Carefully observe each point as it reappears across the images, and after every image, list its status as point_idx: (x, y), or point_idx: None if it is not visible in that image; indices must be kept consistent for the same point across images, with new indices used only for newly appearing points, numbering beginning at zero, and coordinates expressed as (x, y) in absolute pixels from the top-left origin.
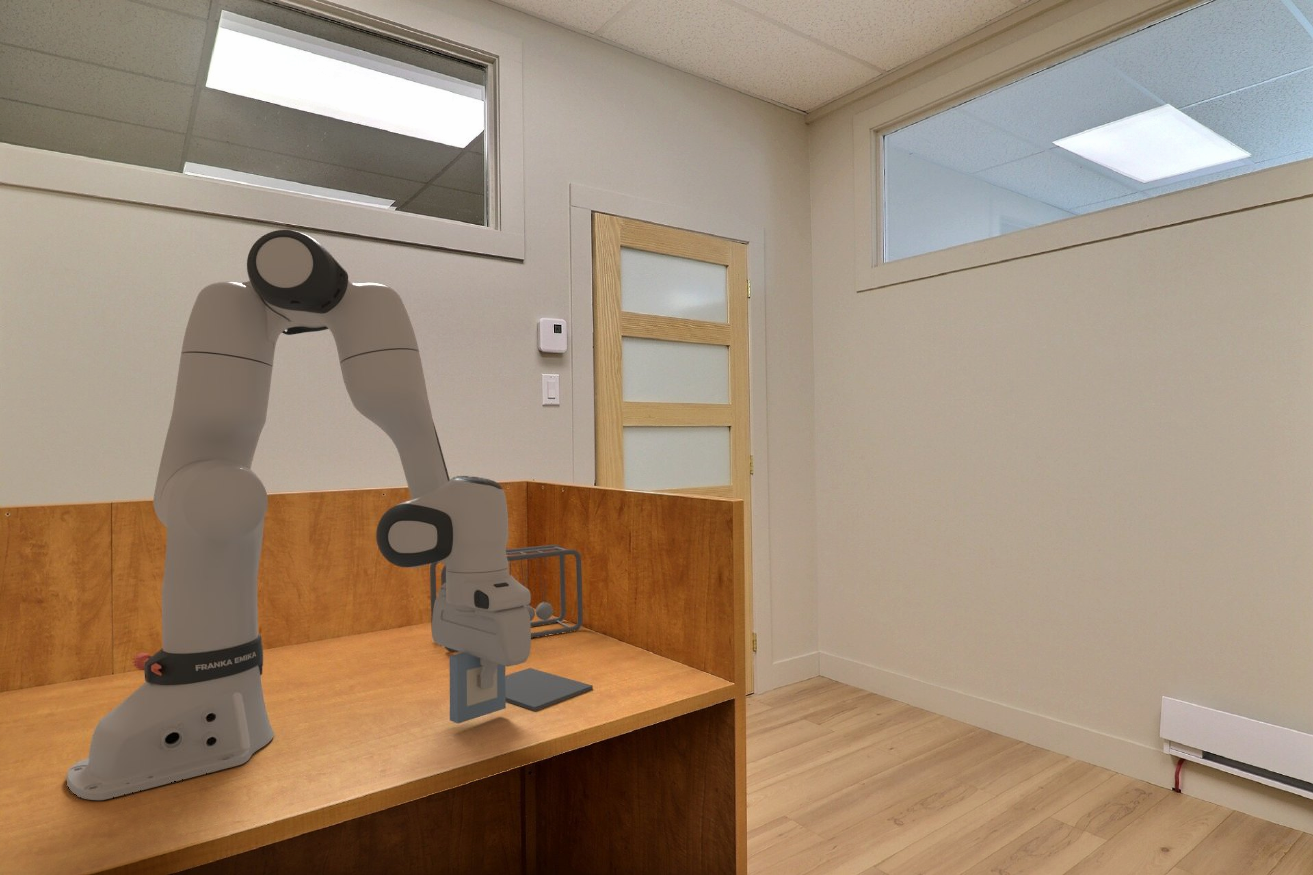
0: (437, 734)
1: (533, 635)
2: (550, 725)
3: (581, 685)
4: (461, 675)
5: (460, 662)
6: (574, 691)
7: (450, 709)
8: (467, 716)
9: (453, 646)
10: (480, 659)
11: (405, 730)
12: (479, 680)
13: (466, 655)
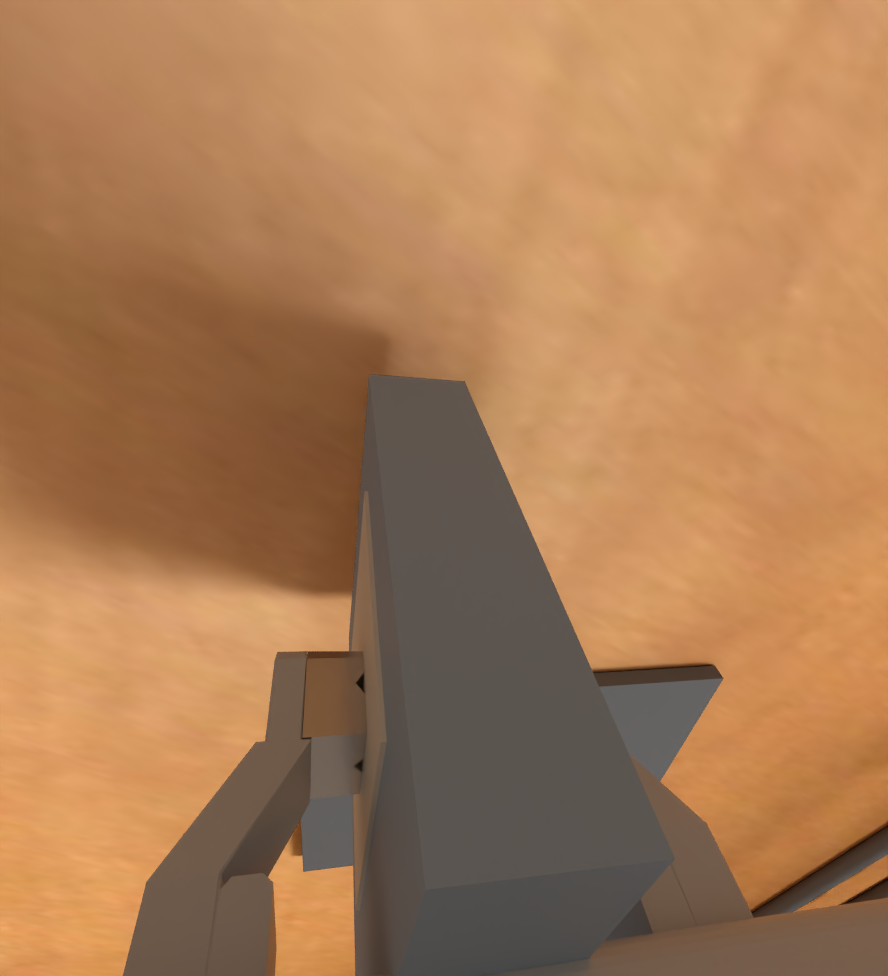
0: (478, 278)
1: (786, 904)
2: (81, 658)
3: (337, 856)
4: (388, 658)
5: (410, 821)
6: (308, 830)
7: (469, 415)
8: (364, 454)
9: (831, 972)
10: (263, 956)
11: (718, 201)
12: (323, 701)
13: (430, 962)
